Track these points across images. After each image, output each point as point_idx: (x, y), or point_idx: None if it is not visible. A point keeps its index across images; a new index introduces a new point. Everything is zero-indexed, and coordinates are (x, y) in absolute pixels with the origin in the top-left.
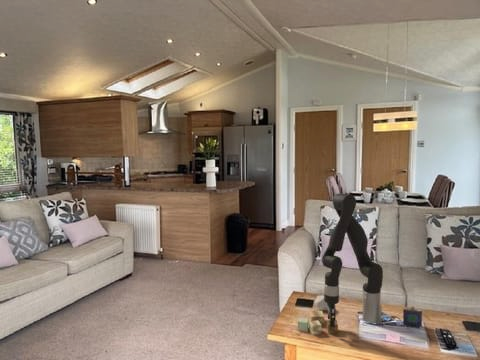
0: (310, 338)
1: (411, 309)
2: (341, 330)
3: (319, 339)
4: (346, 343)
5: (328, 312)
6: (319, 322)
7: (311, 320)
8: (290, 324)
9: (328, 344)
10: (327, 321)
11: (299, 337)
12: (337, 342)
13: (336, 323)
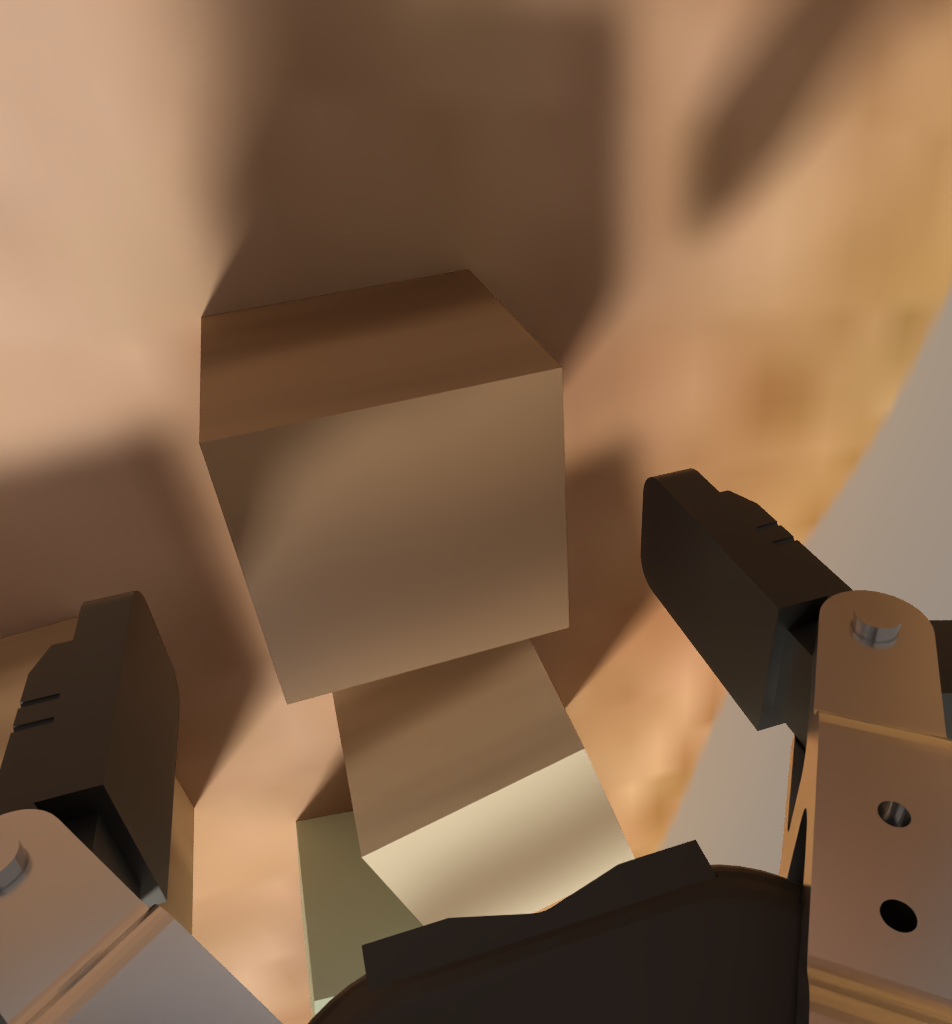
0: (670, 707)
1: None
2: (229, 166)
3: None
4: (898, 51)
5: (146, 896)
6: (468, 806)
7: (191, 900)
8: (283, 1004)
9: (869, 438)
10: (372, 676)
11: (644, 818)
12: (829, 275)
13: (457, 424)
